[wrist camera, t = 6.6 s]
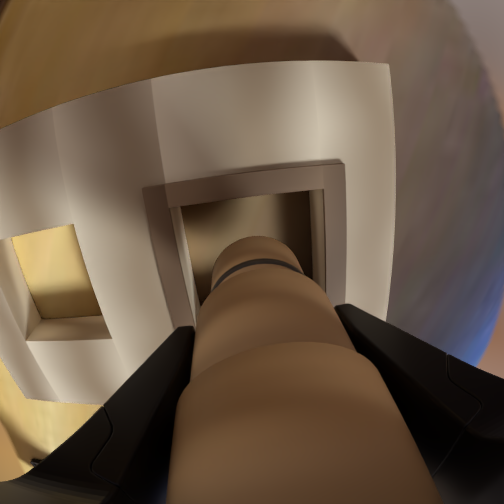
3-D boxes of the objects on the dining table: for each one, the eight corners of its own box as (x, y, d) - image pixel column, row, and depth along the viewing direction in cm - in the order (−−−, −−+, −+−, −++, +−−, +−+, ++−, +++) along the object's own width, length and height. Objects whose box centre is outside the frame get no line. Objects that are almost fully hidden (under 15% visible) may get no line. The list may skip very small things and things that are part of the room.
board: (37, 377, 16) (25, 400, 14) (-43, 158, 10) (-71, 167, 8) (363, 350, 16) (378, 377, 14) (366, 70, 11) (391, 63, 9)
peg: (208, 331, 12) (201, 584, 3) (187, 229, 10) (106, 539, 2) (315, 317, 12) (403, 551, 3) (311, 214, 10) (498, 467, 2)
